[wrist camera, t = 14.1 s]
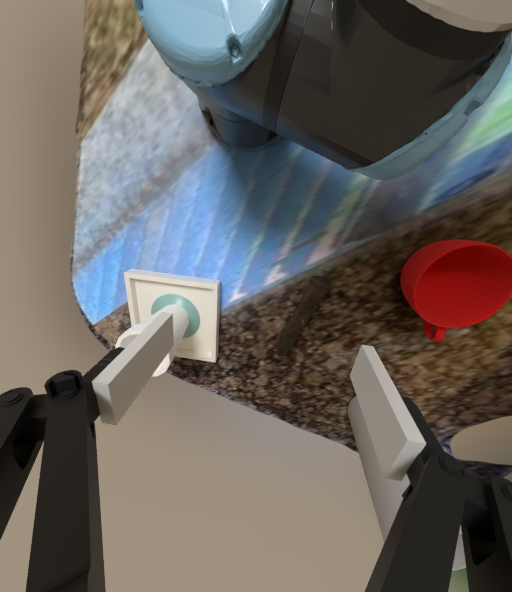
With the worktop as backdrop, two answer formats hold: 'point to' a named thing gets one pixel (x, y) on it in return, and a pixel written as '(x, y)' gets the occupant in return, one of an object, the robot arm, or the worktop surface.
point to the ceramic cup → (456, 283)
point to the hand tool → (302, 313)
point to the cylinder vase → (385, 481)
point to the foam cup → (178, 330)
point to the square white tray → (183, 292)
